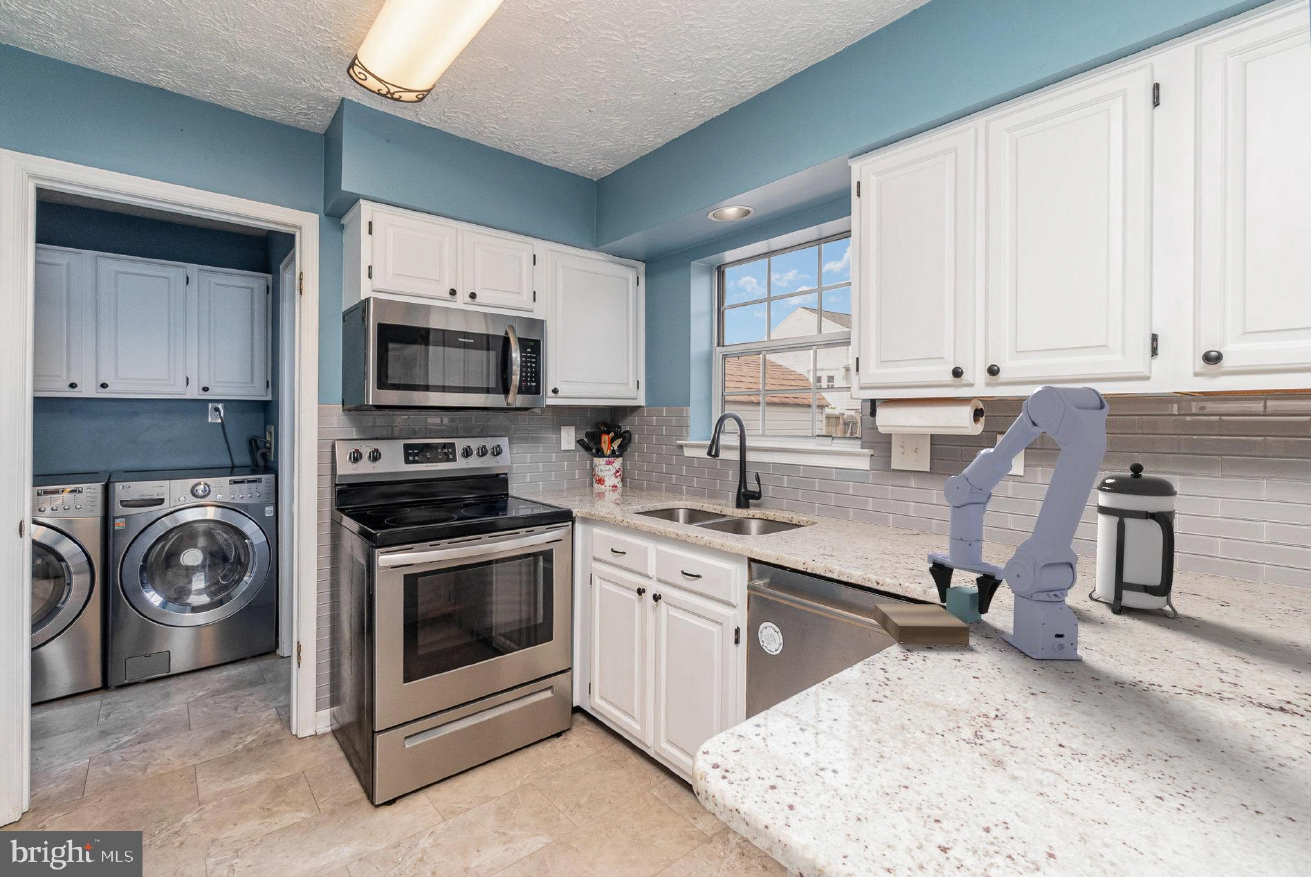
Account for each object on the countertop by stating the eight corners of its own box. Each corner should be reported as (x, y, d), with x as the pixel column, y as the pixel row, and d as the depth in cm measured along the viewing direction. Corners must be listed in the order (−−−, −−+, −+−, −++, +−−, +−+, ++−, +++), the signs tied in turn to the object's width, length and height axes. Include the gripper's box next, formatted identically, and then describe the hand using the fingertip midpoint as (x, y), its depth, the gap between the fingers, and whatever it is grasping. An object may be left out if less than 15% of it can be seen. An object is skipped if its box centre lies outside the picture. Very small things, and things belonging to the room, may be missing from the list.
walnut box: (968, 646, 103) (969, 626, 103) (898, 645, 103) (899, 625, 103) (937, 622, 115) (937, 604, 115) (874, 621, 115) (874, 603, 115)
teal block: (981, 619, 116) (982, 590, 116) (968, 623, 114) (969, 594, 113) (958, 612, 120) (959, 585, 120) (945, 616, 117) (946, 588, 117)
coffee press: (1068, 603, 126) (1073, 461, 125) (1109, 593, 134) (1114, 459, 133) (1168, 630, 111) (1175, 468, 110) (1209, 617, 118) (1215, 465, 117)
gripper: (1015, 543, 112) (1013, 614, 113) (942, 529, 124) (940, 594, 125) (995, 547, 108) (993, 621, 109) (922, 533, 121) (920, 600, 121)
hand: (963, 607), depth 117 cm, fingers open, 7 cm apart
